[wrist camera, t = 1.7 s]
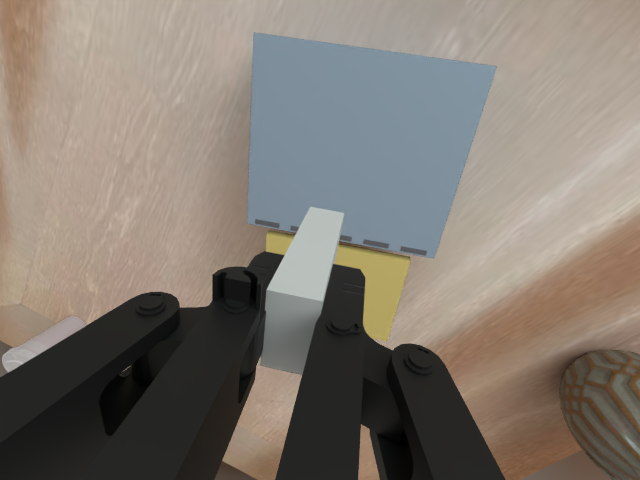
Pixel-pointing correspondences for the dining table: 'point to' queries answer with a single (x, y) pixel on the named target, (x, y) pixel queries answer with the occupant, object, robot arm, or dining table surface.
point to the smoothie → (41, 342)
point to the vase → (605, 410)
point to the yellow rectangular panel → (380, 282)
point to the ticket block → (360, 139)
